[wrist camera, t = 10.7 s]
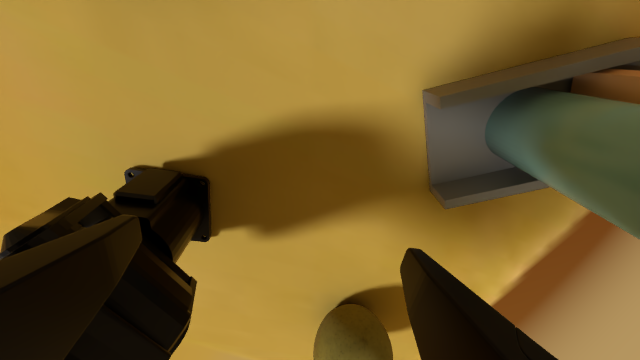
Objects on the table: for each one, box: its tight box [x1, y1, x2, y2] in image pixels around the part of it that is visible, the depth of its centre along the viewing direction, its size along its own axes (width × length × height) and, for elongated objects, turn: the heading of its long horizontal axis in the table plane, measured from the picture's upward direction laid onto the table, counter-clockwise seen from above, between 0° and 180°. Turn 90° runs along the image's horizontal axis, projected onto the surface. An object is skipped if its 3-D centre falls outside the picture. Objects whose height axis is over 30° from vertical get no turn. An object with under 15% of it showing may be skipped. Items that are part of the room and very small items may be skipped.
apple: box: [313, 304, 393, 360], centre depth 27 cm, size 8×8×7 cm
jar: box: [485, 87, 640, 239], centre depth 14 cm, size 6×6×13 cm
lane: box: [423, 37, 640, 209], centre depth 18 cm, size 14×9×6 cm, turn 104°
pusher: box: [571, 68, 640, 104], centre depth 17 cm, size 1×6×5 cm, turn 13°
